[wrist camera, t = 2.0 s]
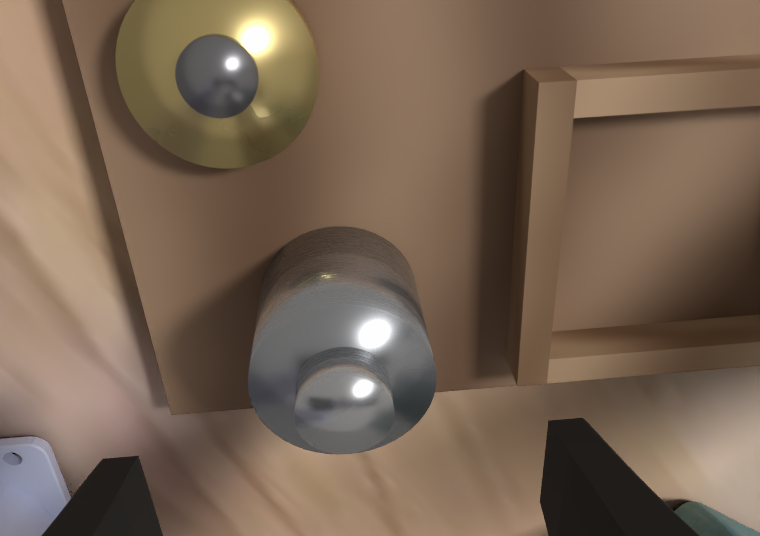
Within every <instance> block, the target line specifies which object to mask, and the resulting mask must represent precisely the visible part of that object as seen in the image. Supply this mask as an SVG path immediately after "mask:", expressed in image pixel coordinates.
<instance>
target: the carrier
mask: <svg viewBox="0 0 760 536" xmlns="http://www.w3.org/2000/svg"><path fill="white" fill-rule="evenodd" d="M134 1H135V0H62V2H63V6H64V10H65V13H66V17H67V21H68V25H69V29H70V32H71V36H72V40H73V44H74V48H75V51H76V55H77V59H78V63H79V67H80V70H81V74H82V78H83V82H84V86H85V89H86V93H87V97H88V101H89V105H90V108H91V112H92V116H93V120H94V124H95V127H96V131H97V135H98V139H99V143H100V146H101V150H102V154H103V158H104V162H105V165H106V169H107V173H108V177H109V181H110V184H111V188H112V192H113V196H114V200H115V203H116V207H117V211H118V215H119V219H120V222H121V226H122V230H123V234H124V238H125V241H126V245H127V249H128V253H129V256H130V260H131V264H132V268H133V272H134V275H135V279H136V283H137V287H138V291H139V294H140V298H141V302H142V306H143V310H144V313H145V317H146V321H147V325H148V329H149V332H150V336H151V340H152V344H153V348H154V351H155V355H156V359H157V363H158V367H159V370H160V374H161V378H162V382H163V386H164V389H165V393H166V397H167V401H168V405H169V408H170V412H171V415H176V414H188V413H200V412H211V411H223V410H235V409H246V408H253V405H252V403H251V400H250V396H249V391H248V373H249V366H250V360H251V353H252V346H253V339H254V333H255V326H256V319H257V313H258V306H259V299H260V292H261V286H262V281H263V277H264V274H265V271H266V269H267V267H268V265H269V263H270V262H271V260H272V259H273V257H274V256H275V255H276V254H277V252H278V251H279V250H280V249H281V248H282V247H284V246H285V245H286V244H287V243H289V242H290V241H291V240H293V239H294V238H296V237H298V236H300V235H302V234H304V233H307V232H309V231H312V230H316V229H320V228H324V227H332V226H347V227H355V228H360V229H364V230H367V231H370V232H373V233H375V234H377V235H379V236H381V237H383V238H385V239H386V240H388V241H389V242H391V243H392V244H393V245H394V246H395V247H396V248H397V249H399V251H400V252H401V253H402V254H403V255H404V257H405V258H406V260H407V261H408V263H409V265H410V267H411V269H412V272H413V275H414V279H415V282H416V287H417V291H418V295H419V299H420V303H421V308H422V312H423V316H424V320H425V324H426V328H427V333H428V337H429V341H430V345H431V349H432V353H433V358H434V362H435V366H436V375H437V380H436V389H435V392H445V391H457V390H468V389H480V388H492V387H503V386H515V385H517V386H525V385H537V384H549V383H560V382H572V381H584V380H595V379H607V378H619V377H630V376H642V375H654V374H665V373H677V372H689V371H700V370H712V369H724V368H735V367H747V366H759V365H760V0H293V1H294V2H295V3H296V5H297V6H298V7H299V9H300V10H301V12H302V13H303V15H304V17H305V18H306V20H307V22H308V24H309V27H310V29H311V31H312V34H313V37H314V40H315V44H316V48H317V55H318V89H317V96H316V100H315V104H314V108H313V110H312V113H311V115H310V118H309V120H308V122H307V123H306V125H305V127H304V129H303V130H302V131H301V133H300V134H299V135H298V137H297V138H296V139H295V140H294V141H293V142H292V143H291V144H290V145H289V146H288V147H287V148H285V149H284V150H283V151H281V152H280V153H279V154H277V155H275V156H273V157H272V158H270V159H268V160H266V161H263V162H261V163H258V164H255V165H251V166H247V167H241V168H229V169H221V168H212V167H206V166H202V165H198V164H195V163H192V162H189V161H186V160H184V159H182V158H180V157H178V156H176V155H174V154H172V153H171V152H169V151H168V150H166V149H165V148H163V147H162V146H160V145H159V144H158V143H157V142H156V141H154V140H153V139H152V138H151V137H150V136H149V135H148V134H147V133H146V132H145V131H144V130H143V129H142V127H141V126H140V125H139V124H138V122H137V121H136V120H135V118H134V117H133V115H132V113H131V112H130V110H129V108H128V107H127V104H126V102H125V100H124V98H123V95H122V92H121V89H120V86H119V83H118V78H117V72H116V57H115V54H116V44H117V38H118V34H119V30H120V27H121V25H122V22H123V20H124V17H125V15H126V13H127V12H128V10H129V8H130V7H131V5H132V4H133V3H134Z"/></svg>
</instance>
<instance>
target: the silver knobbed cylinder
mask: <svg viewBox="0 0 760 536" xmlns="http://www.w3.org/2000/svg"><path fill="white" fill-rule="evenodd" d="M436 380H437V375H436V366H435V362H434V358H433V353H432V349H431V345H430V341H429V337H428V333H427V328H426V324H425V320H424V316H423V312H422V308H421V303H420V299H419V295H418V291H417V287H416V282H415V279H414V275H413V272H412V269H411V267H410V265H409V263H408V261H407V260H406V258H405V257H404V255H403V254H402V253H401V252H400V251H399V249H397V248H396V247H395V246H394V245H393V244H392V243H391V242H389V241H388V240H386V239H385V238H383V237H381V236H379V235H377V234H375V233H373V232H370V231H367V230H364V229H360V228H355V227H347V226H332V227H324V228H320V229H316V230H312V231H309V232H307V233H304V234H302V235H300V236H298V237H296V238H294V239H293V240H291V241H290V242H289V243H287V244H286V245H285V246H284V247H282V248H281V249H280V250H279V251H278V252H277V254H276V255H275V256H274V257H273V259H272V260H271V262H270V263H269V265H268V267H267V269H266V271H265V274H264V277H263V281H262V286H261V292H260V299H259V306H258V313H257V319H256V326H255V333H254V339H253V346H252V353H251V360H250V366H249V373H248V391H249V396H250V400H251V403H252V405H253V408H254V410H255V412H256V413H257V415H258V416H259V418H260V420H261V421H262V422H263V423H264V424H265V425H266V426H267V428H269V429H270V430H271V431H272V432H273V433H274V434H276V435H277V436H279V437H280V438H282V439H283V440H285V441H287V442H289V443H291V444H293V445H295V446H297V447H300V448H303V449H306V450H310V451H314V452H319V453H326V454H352V453H359V452H364V451H368V450H372V449H375V448H378V447H381V446H384V445H386V444H388V443H390V442H392V441H394V440H396V439H398V438H399V437H401V436H403V435H404V434H405V433H406V432H408V431H409V430H410V429H412V428H413V427H414V426H415V425H416V424H417V423H418V422H419V420H420V419H421V418H422V417H423V415H424V414H425V413H426V411H427V409H428V408H429V406H430V404H431V401H432V399H433V397H434V393H435V389H436Z"/></svg>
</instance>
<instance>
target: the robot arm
mask: <svg viewBox="0 0 760 536" xmlns="http://www.w3.org/2000/svg"><path fill="white" fill-rule="evenodd" d="M11 452H12V453H16V454H18V455H14V454H12V453H11ZM19 455H20V456H19ZM540 503H541V507H542V511H543V515H544V519H545V523H546V527H547V531H548V534H549V536H700V535H698V534H697V533H696V532H695V531H694V530H693V529H692V528H691V527H690V526H689V525H688V524H687V523H685V522H684V521H683V520H682V519H681V518H680V517H679V516H678V515H677V514H676V513H675V512H674V511H673V510H672V509H671V508H670V507H669V506H668V505H667V504H666V503H665V502H664V501H663V500H662V499H661V498H659V497H658V496H657V495H656V494H655V493H654V492H653V491H652V490H651V489H650V488H649V487H648V486H647V485H646V484H645V483H644V482H643V481H642V480H641V479H640V478H639V477H638V476H637V475H636V473H635V472H634V471H633V470H632V469H631V468H630V467H629V466H628V465H627V464H626V463H625V462H624V461H623V460H622V459H621V458H620V457H619V456H618V455H617V454H616V452H615V451H614V450H613V449H612V448H611V447H610V446H609V445H608V444H607V443H606V442H605V441H604V440H603V439H602V437H601V436H600V435H599V434H598V433H597V432H596V431H595V430H594V429H593V428H592V427H591V426H590V424H589V423H588V422H587V421H585V420H584V419H583V418H575V419H563V420H552V421H548V431H547V440H546V449H545V459H544V468H543V477H542V487H541V496H540ZM0 536H163V534H162V531H161V527H160V524H159V521H158V518H157V515H156V511H155V508H154V505H153V502H152V498H151V495H150V492H149V489H148V485H147V482H146V479H145V476H144V472H143V469H142V466H141V463H140V460H139V456H132V457H120V458H109V459H102V461H101V462H100V463H99V464H98V465H97V466H96V467H95V469H94V470H93V471H92V472H91V474H90V475H89V476H88V477H87V479H86V480H85V481H84V483H83V484H82V485H81V486H80V488H79V489H78V490H77V492H76V493H75V494H74V495H73V497H72V498H71V496H70V494H69V491H68V489H67V486H66V483H65V481H64V478H63V476H62V473H61V471H60V468H59V466H58V463H57V461H56V458H55V455H54V453H53V450H52V448H51V446H50V445H49V443H48V442H46V441H45V440H44V439H42V438H39V437H31V436H28V437H17V438H5V439H0Z"/></svg>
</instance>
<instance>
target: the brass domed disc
mask: <svg viewBox="0 0 760 536" xmlns="http://www.w3.org/2000/svg"><path fill="white" fill-rule="evenodd" d="M115 57H116V72H117V78H118V83H119V86H120V89H121V92H122V95H123V98H124V100H125V102H126V104H127V107H128V108H129V110H130V112H131V113H132V115H133V117H134V118H135V120H136V121H137V122H138V124H139V125H140V126H141V127H142V129H143V130H144V131H145V132H146V133H147V134H148V135H149V136H150V137H151V138H152V139H153V140H154V141H156V142H157V143H158V144H159V145H160V146H162V147H163V148H165V149H166V150H168V151H169V152H171V153H172V154H174V155H176V156H178V157H180V158H182V159H184V160H186V161H189V162H192V163H195V164H198V165H202V166H206V167H212V168H221V169H229V168H241V167H247V166H251V165H255V164H258V163H261V162H263V161H266V160H268V159H270V158H272V157H273V156H275V155H277V154H279V153H280V152H281V151H283V150H284V149H285V148H287V147H288V146H289V145H290V144H291V143H292V142H293V141H294V140H295V139H296V138H297V137H298V135H299V134H300V133H301V131H302V130H303V129H304V127H305V125H306V123H307V122H308V120H309V118H310V115H311V113H312V110H313V108H314V104H315V100H316V96H317V89H318V55H317V48H316V44H315V40H314V37H313V34H312V31H311V29H310V27H309V24H308V22H307V20H306V18H305V17H304V15H303V13H302V12H301V10H300V9H299V7H298V6H297V5H296V3H295V2H294V1H293V0H135V1H134V3H133V4H132V5H131V7H130V8H129V10H128V12H127V13H126V15H125V17H124V20H123V22H122V25H121V27H120V30H119V34H118V38H117V44H116V54H115Z"/></svg>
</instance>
